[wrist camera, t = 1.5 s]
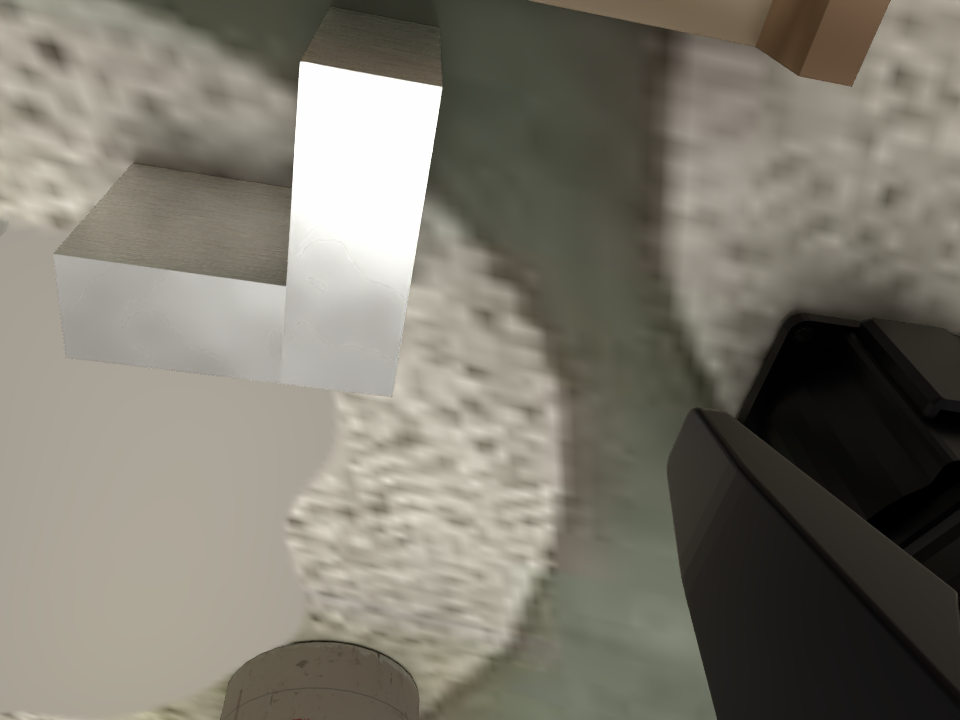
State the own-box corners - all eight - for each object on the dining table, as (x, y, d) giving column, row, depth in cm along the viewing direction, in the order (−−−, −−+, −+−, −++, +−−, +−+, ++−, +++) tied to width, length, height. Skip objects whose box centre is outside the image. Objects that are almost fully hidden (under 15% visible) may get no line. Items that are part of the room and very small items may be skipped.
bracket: (399, 289, 22) (392, 397, 18) (138, 252, 21) (65, 357, 17) (439, 27, 18) (442, 87, 14) (121, -35, 17) (22, 10, 13)
